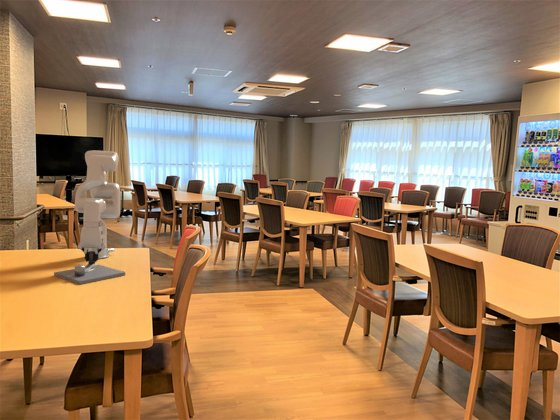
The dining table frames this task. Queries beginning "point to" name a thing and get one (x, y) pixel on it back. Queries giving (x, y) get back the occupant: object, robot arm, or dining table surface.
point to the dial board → (90, 274)
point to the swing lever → (82, 268)
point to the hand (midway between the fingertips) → (91, 260)
